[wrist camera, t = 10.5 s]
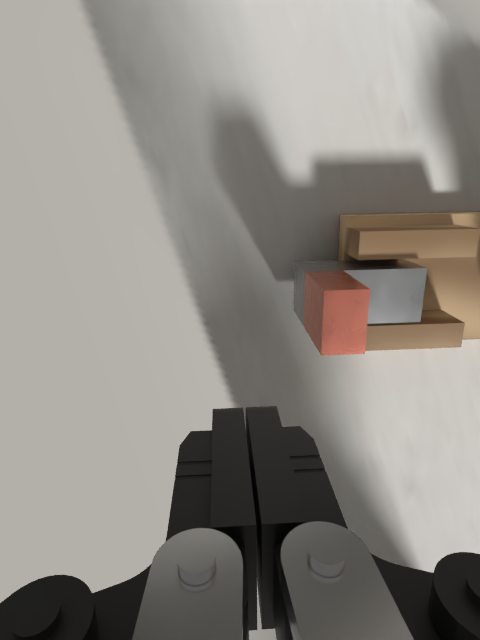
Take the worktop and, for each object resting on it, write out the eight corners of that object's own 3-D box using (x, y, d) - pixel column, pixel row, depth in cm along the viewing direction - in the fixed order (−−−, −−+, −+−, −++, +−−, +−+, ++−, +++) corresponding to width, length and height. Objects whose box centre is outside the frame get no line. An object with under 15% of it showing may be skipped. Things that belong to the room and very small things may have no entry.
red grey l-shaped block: (397, 306, 25) (461, 349, 19) (293, 309, 25) (321, 355, 18) (402, 258, 24) (472, 285, 18) (294, 261, 24) (324, 290, 17)
